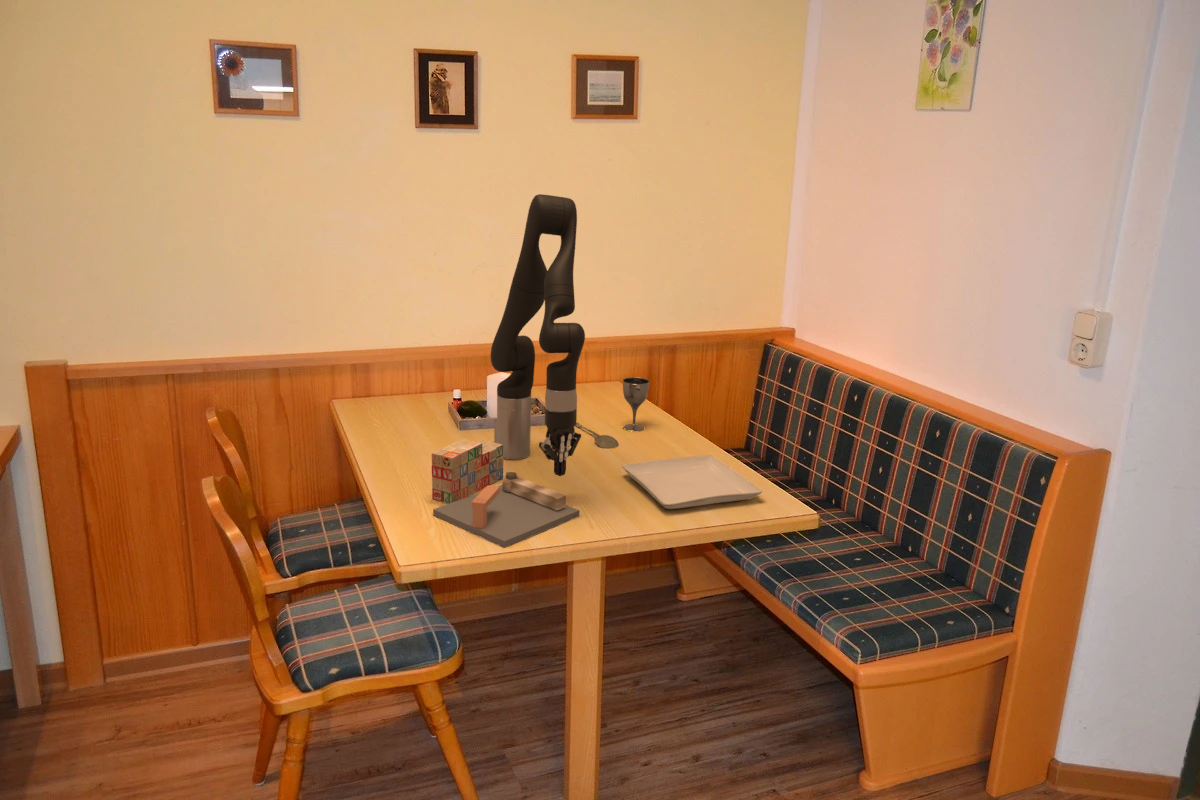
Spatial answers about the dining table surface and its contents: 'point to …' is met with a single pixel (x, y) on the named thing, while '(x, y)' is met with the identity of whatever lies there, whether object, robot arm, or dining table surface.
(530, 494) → the arm link
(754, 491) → the square plate
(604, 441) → the soupspoon
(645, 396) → the wine glass
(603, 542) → the dining table surface
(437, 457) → the stack of blocks
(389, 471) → the dining table surface
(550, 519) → the board
